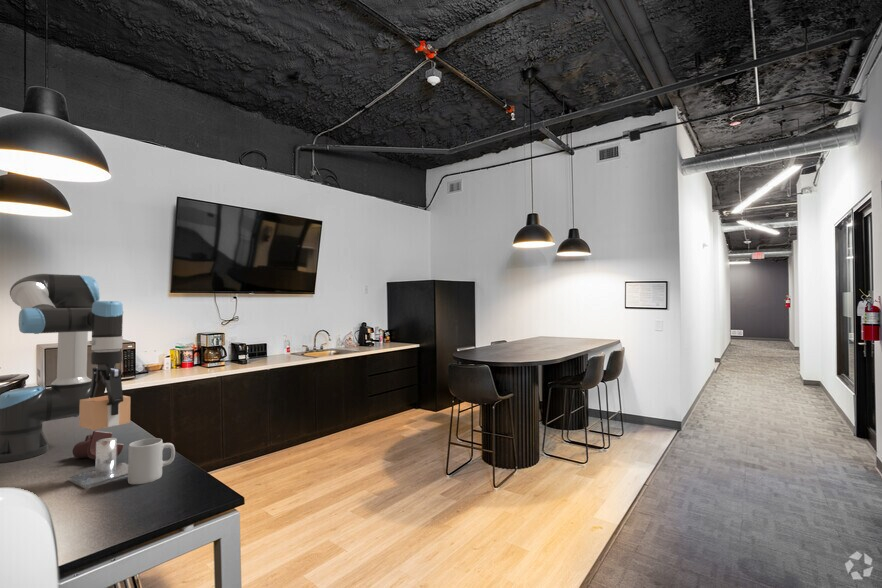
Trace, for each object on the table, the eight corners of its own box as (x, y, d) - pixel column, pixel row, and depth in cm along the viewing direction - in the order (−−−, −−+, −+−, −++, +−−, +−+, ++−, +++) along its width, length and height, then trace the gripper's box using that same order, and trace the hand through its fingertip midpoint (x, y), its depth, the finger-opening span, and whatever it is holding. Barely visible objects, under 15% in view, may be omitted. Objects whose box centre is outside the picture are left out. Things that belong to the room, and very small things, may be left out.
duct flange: (68, 480, 126) (69, 443, 127) (123, 465, 138) (123, 431, 139) (85, 489, 120) (86, 450, 121) (140, 472, 132) (141, 437, 133)
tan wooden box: (79, 426, 128) (79, 399, 128) (115, 419, 136) (116, 394, 136) (92, 430, 123) (93, 402, 123) (130, 422, 131) (130, 396, 132)
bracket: (104, 458, 137) (112, 427, 142) (67, 464, 142) (76, 434, 146) (123, 459, 143) (130, 429, 147) (86, 465, 147) (94, 436, 151)
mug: (131, 487, 121) (132, 448, 122) (124, 479, 127) (125, 442, 127) (178, 475, 130) (179, 439, 130) (170, 468, 136) (171, 433, 136)
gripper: (77, 350, 133) (75, 422, 132) (108, 353, 122) (106, 431, 121) (105, 348, 140) (104, 416, 139) (137, 350, 128) (136, 425, 127)
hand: (105, 423), depth 130 cm, fingers closed on tan wooden box, 9 cm apart
